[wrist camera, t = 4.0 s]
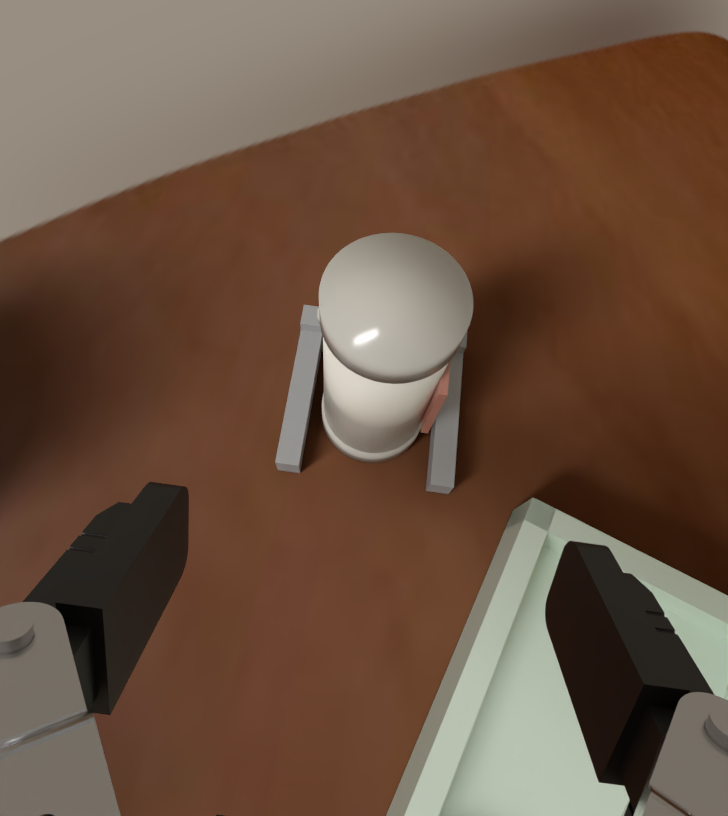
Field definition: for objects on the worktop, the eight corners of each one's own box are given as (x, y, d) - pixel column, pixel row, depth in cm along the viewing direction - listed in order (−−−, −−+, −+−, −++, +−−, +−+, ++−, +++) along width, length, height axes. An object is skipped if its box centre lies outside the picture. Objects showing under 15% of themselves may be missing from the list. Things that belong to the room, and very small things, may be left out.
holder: (305, 324, 27) (303, 298, 25) (459, 346, 27) (470, 322, 25) (277, 469, 25) (272, 455, 22) (448, 494, 25) (459, 481, 23)
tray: (512, 510, 25) (533, 497, 22) (755, 633, 23) (804, 634, 21) (367, 859, 20) (373, 892, 17) (664, 1040, 18) (715, 1103, 16)
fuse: (330, 363, 27) (331, 223, 17) (425, 377, 27) (477, 244, 17) (314, 455, 25) (306, 354, 16) (416, 469, 25) (468, 377, 16)
